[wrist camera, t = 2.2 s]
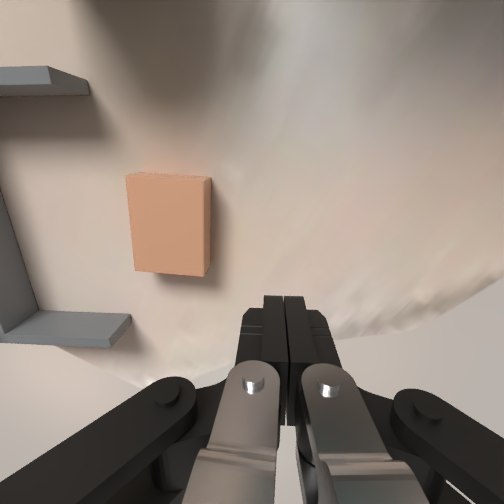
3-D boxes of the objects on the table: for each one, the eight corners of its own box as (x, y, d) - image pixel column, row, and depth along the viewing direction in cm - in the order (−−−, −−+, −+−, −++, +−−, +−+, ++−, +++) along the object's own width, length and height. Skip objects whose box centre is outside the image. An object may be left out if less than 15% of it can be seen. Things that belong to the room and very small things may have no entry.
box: (86, 80, 21) (47, 65, 18) (131, 322, 29) (110, 348, 25) (-46, 82, 22) (-111, 69, 18) (32, 318, 30) (-3, 342, 26)
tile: (211, 176, 24) (203, 180, 21) (211, 263, 26) (203, 276, 24) (142, 171, 24) (125, 175, 21) (149, 257, 27) (134, 270, 24)
